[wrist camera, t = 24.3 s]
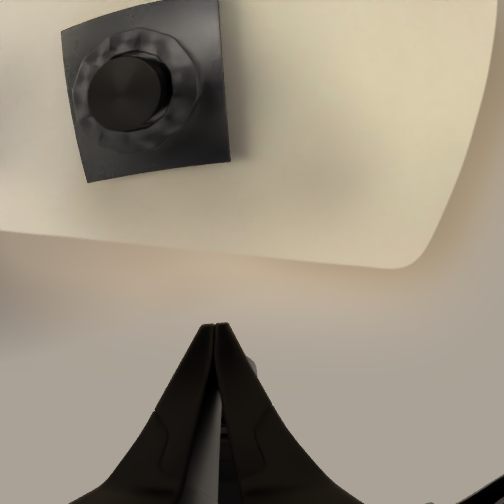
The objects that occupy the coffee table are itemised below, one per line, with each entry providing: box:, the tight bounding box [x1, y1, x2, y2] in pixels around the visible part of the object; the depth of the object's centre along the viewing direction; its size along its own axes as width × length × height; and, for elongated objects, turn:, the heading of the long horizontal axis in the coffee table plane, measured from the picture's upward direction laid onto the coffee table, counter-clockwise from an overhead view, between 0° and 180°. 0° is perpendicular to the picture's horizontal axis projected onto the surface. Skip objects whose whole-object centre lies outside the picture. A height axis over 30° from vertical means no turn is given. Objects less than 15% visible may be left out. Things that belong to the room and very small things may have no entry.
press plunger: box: [87, 56, 168, 132], centre depth 11 cm, size 4×4×2 cm
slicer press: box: [61, 0, 231, 183], centre depth 13 cm, size 10×9×3 cm
